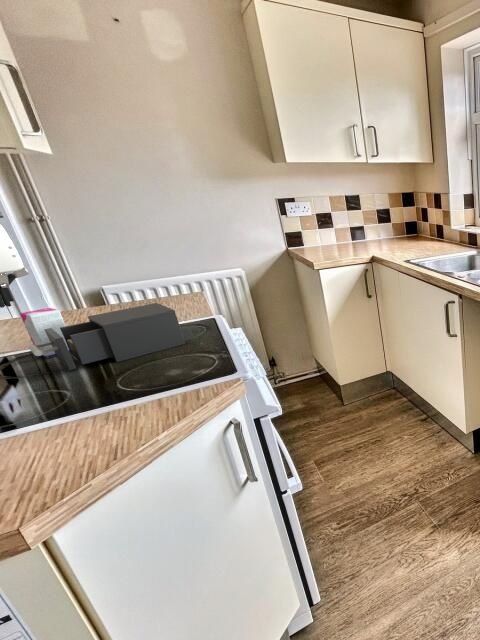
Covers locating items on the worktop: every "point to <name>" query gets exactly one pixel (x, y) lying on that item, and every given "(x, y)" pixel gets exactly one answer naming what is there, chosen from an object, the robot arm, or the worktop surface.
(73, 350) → the block
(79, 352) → the dark grey box
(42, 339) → the supplement box
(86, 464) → the worktop surface
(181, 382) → the worktop surface
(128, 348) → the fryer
